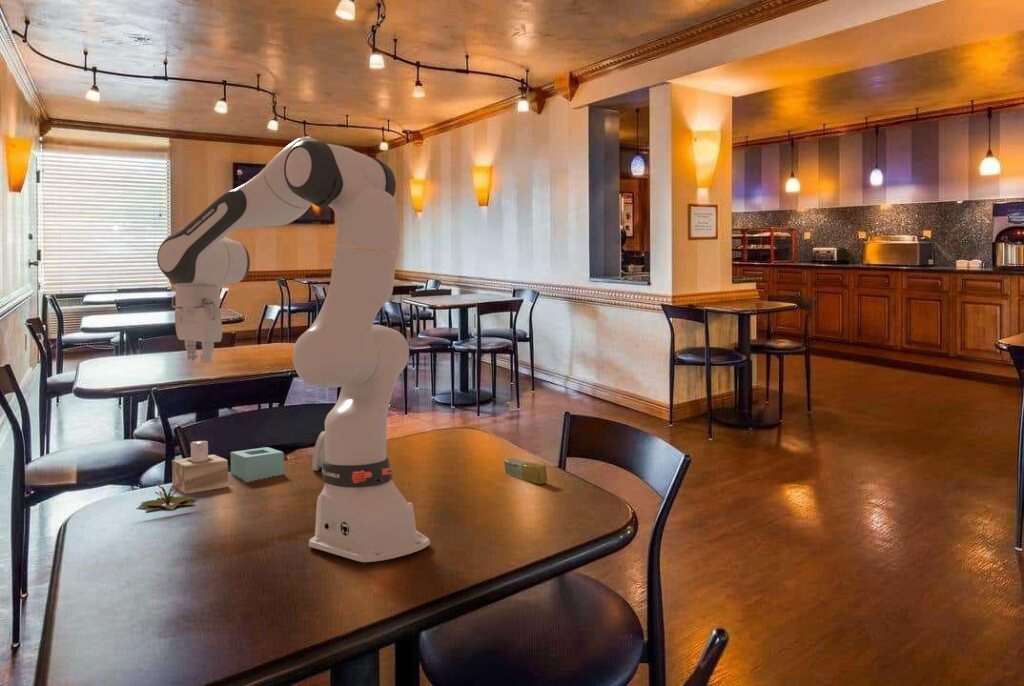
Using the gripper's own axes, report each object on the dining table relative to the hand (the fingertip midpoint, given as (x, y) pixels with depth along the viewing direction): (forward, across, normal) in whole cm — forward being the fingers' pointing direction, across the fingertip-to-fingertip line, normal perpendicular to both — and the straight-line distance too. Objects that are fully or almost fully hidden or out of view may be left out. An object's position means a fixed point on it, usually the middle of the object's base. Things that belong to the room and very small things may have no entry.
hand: (199, 361), depth 154 cm
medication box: (+28, -46, -57) cm, 78 cm away
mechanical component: (+28, -6, -27) cm, 39 cm away
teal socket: (+28, 0, -13) cm, 31 cm away
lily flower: (+29, -11, +10) cm, 32 cm away
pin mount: (+28, 0, 0) cm, 28 cm away
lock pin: (+27, 0, 0) cm, 27 cm away
